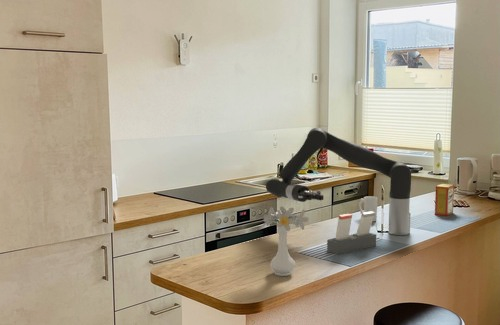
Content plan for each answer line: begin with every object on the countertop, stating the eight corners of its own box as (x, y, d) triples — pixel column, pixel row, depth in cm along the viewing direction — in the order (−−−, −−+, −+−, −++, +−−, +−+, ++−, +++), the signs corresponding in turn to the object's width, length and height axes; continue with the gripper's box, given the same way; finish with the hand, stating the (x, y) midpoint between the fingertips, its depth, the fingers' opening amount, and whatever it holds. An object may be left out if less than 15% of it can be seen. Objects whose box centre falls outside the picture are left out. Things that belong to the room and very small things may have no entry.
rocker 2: (366, 232, 249) (372, 210, 245) (368, 234, 248) (374, 212, 244) (356, 234, 246) (362, 212, 242) (358, 236, 245) (364, 214, 241)
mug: (379, 219, 296) (379, 197, 295) (373, 222, 291) (373, 199, 289) (361, 217, 302) (362, 195, 301) (355, 219, 297) (356, 197, 296)
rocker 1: (345, 236, 243) (349, 213, 240) (348, 238, 241) (352, 214, 238) (335, 238, 239) (338, 215, 236) (338, 240, 238) (341, 216, 235)
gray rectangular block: (366, 242, 253) (366, 230, 253) (376, 245, 248) (376, 233, 248) (327, 251, 241) (327, 238, 240) (336, 254, 236) (337, 241, 235)
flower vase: (312, 271, 214) (313, 206, 211) (279, 283, 202) (279, 214, 198) (286, 263, 224) (286, 201, 220) (253, 274, 211) (253, 208, 208)
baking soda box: (446, 216, 304) (447, 186, 302) (434, 214, 308) (435, 185, 306) (452, 213, 311) (454, 184, 309) (441, 211, 315) (442, 183, 313)
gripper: (285, 186, 259) (310, 191, 245) (308, 182, 266) (333, 187, 252) (286, 202, 260) (310, 208, 246) (308, 198, 267) (333, 204, 253)
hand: (322, 197), depth 249 cm, fingers closed
